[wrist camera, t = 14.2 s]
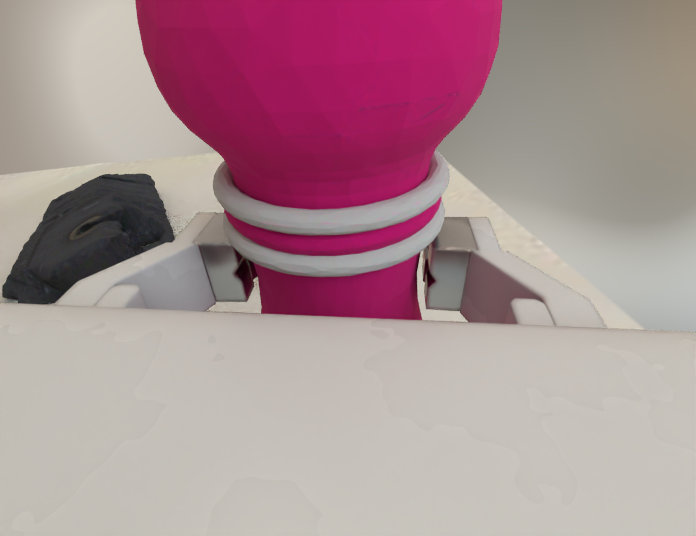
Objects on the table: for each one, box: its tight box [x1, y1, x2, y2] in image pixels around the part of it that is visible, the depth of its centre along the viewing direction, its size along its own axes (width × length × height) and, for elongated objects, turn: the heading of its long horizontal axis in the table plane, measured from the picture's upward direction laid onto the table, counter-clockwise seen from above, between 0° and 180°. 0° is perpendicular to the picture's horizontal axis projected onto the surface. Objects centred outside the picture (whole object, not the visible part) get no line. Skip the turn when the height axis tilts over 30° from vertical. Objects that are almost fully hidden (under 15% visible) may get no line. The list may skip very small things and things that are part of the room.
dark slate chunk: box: [2, 174, 175, 304], centre depth 42 cm, size 15×22×5 cm
